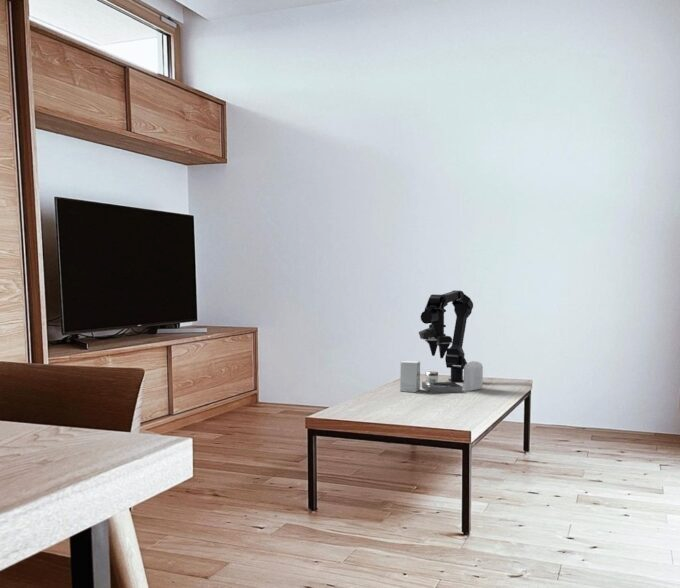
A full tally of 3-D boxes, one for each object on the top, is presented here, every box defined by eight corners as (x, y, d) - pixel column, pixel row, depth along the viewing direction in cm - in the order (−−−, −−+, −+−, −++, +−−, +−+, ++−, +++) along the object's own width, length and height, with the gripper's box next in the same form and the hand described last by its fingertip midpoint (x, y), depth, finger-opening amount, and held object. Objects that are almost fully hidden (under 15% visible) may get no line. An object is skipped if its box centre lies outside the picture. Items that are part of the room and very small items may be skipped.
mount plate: (422, 387, 302) (422, 382, 302) (452, 387, 304) (452, 381, 304) (430, 393, 288) (430, 387, 288) (462, 392, 290) (462, 386, 290)
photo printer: (475, 387, 303) (476, 360, 302) (483, 389, 300) (484, 361, 299) (461, 390, 296) (462, 362, 295) (470, 391, 292) (470, 363, 292)
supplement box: (416, 392, 290) (416, 362, 289) (399, 391, 292) (399, 362, 292) (420, 389, 297) (420, 360, 296) (403, 388, 299) (403, 360, 299)
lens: (424, 384, 311) (424, 371, 311) (436, 384, 312) (436, 371, 312) (427, 386, 306) (427, 373, 306) (439, 386, 306) (439, 373, 306)
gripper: (413, 321, 313) (412, 355, 313) (429, 324, 295) (428, 360, 295) (435, 320, 316) (435, 354, 316) (452, 323, 298) (452, 359, 298)
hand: (437, 357), depth 307 cm, fingers open, 9 cm apart
